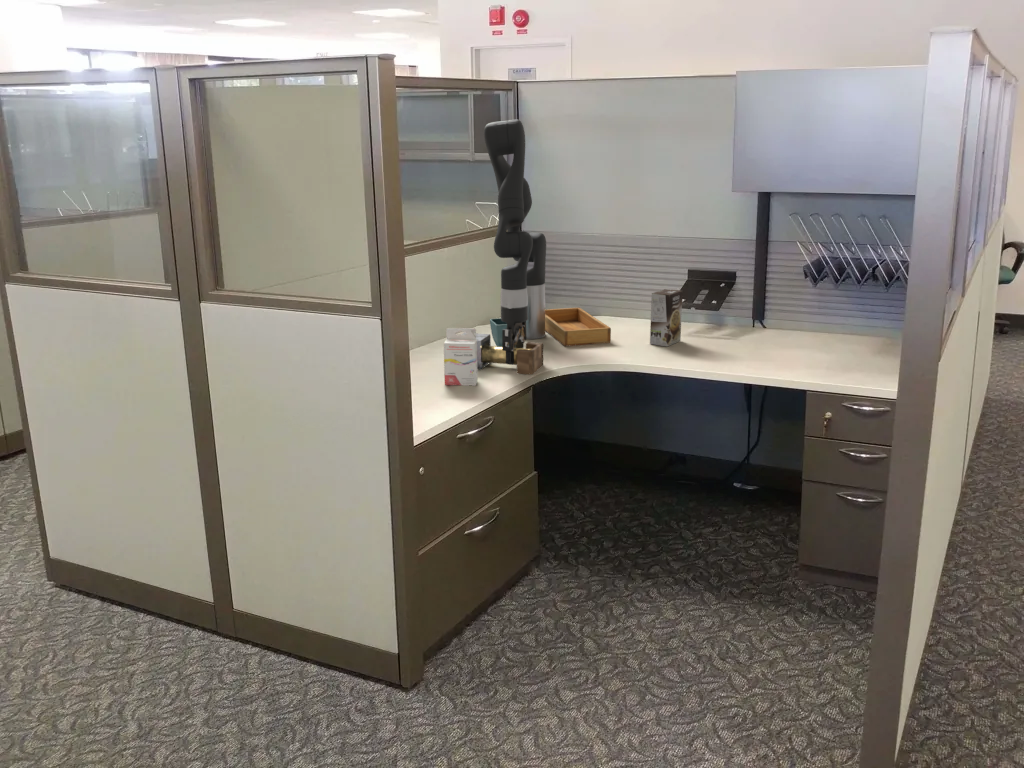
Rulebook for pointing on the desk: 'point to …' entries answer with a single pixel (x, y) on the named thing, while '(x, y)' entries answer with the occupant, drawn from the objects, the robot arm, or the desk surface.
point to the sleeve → (481, 340)
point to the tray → (576, 327)
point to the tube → (497, 354)
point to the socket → (530, 358)
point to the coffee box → (666, 317)
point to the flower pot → (497, 330)
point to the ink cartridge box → (460, 357)
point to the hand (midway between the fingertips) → (514, 360)
